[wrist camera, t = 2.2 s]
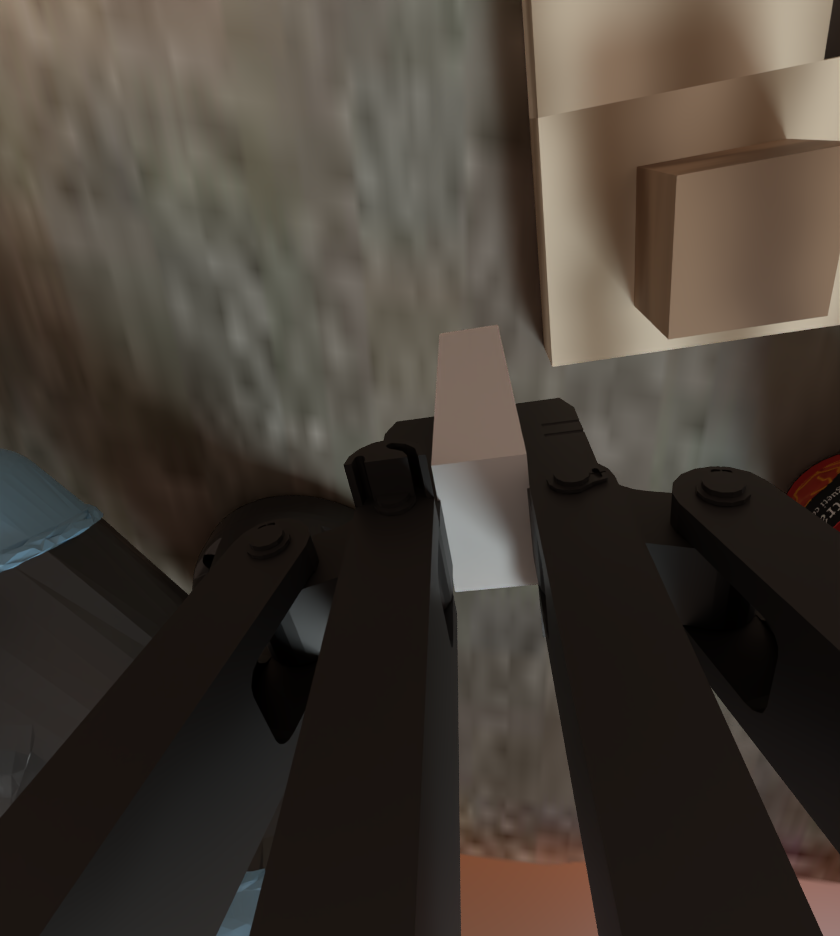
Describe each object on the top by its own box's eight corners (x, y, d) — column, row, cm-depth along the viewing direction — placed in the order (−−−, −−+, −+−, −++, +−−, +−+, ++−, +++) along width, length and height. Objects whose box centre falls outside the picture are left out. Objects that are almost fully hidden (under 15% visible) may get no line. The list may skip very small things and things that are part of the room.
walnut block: (633, 305, 27) (668, 339, 23) (636, 166, 24) (676, 175, 20) (766, 285, 26) (827, 315, 22) (786, 138, 23) (861, 141, 19)
